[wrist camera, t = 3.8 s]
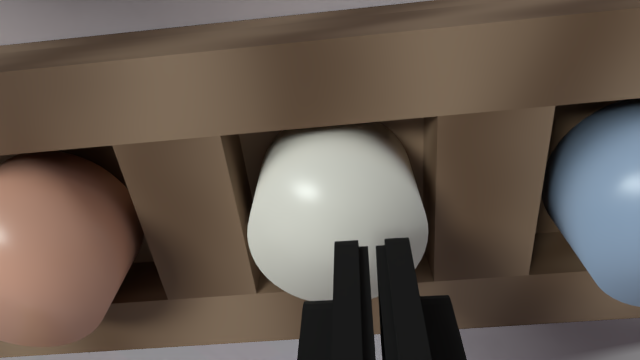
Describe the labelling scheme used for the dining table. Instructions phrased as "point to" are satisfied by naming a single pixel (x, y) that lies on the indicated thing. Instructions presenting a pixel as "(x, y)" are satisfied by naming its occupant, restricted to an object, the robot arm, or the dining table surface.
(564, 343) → the dining table surface
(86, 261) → the pink rounded dome
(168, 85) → the wooden compartment tray
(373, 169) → the cream button
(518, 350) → the dining table surface
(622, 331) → the dining table surface
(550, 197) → the blue rounded knob
